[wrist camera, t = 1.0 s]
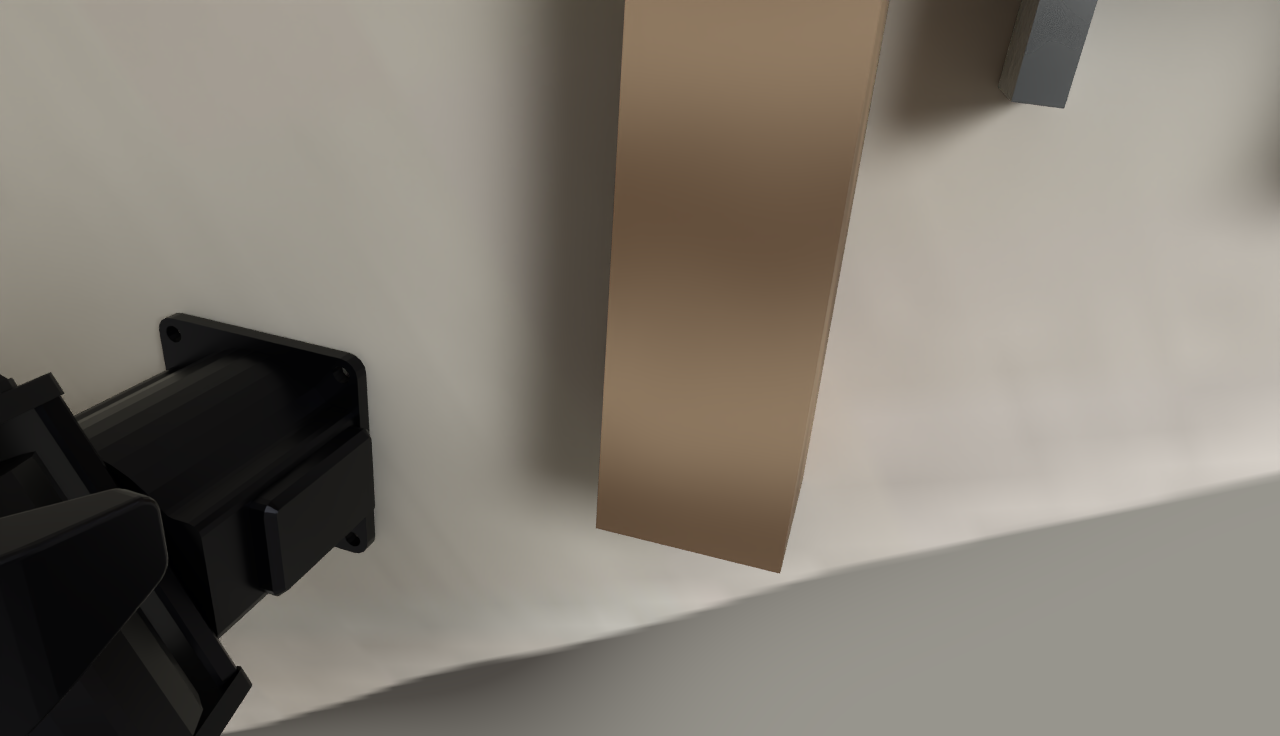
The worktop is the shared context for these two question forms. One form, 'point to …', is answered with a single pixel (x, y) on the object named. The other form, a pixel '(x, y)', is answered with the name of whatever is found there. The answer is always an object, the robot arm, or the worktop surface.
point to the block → (727, 261)
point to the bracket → (1045, 50)
